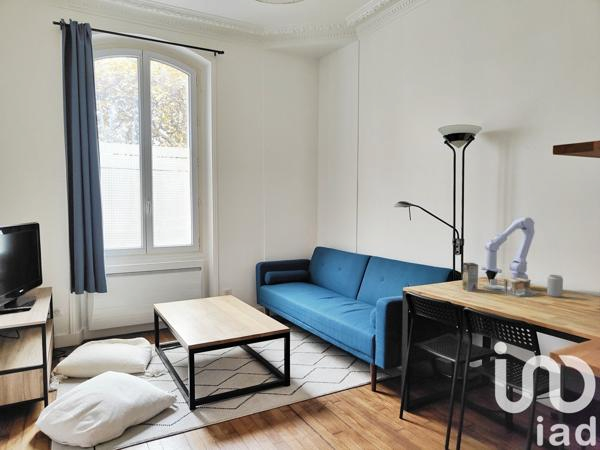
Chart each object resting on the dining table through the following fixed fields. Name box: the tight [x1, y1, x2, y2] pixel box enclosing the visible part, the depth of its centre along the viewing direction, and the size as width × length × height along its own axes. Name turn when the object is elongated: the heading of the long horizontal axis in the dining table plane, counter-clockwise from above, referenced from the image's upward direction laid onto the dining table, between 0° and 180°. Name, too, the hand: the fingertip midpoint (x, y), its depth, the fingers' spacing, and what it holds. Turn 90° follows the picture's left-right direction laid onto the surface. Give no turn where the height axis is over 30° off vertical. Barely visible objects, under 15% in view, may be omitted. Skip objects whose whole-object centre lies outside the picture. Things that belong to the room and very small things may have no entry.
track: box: [482, 283, 539, 298], centre depth 253 cm, size 14×27×2 cm, turn 21°
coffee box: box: [461, 262, 479, 292], centre depth 258 cm, size 9×6×16 cm
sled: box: [489, 278, 525, 292], centre depth 255 cm, size 5×22×4 cm, turn 21°
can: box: [546, 274, 564, 298], centre depth 241 cm, size 8×8×12 cm
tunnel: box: [503, 278, 531, 293], centre depth 248 cm, size 13×7×7 cm, turn 111°
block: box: [512, 282, 524, 291], centre depth 248 cm, size 4×4×4 cm
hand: (491, 282), depth 266 cm, fingers closed
